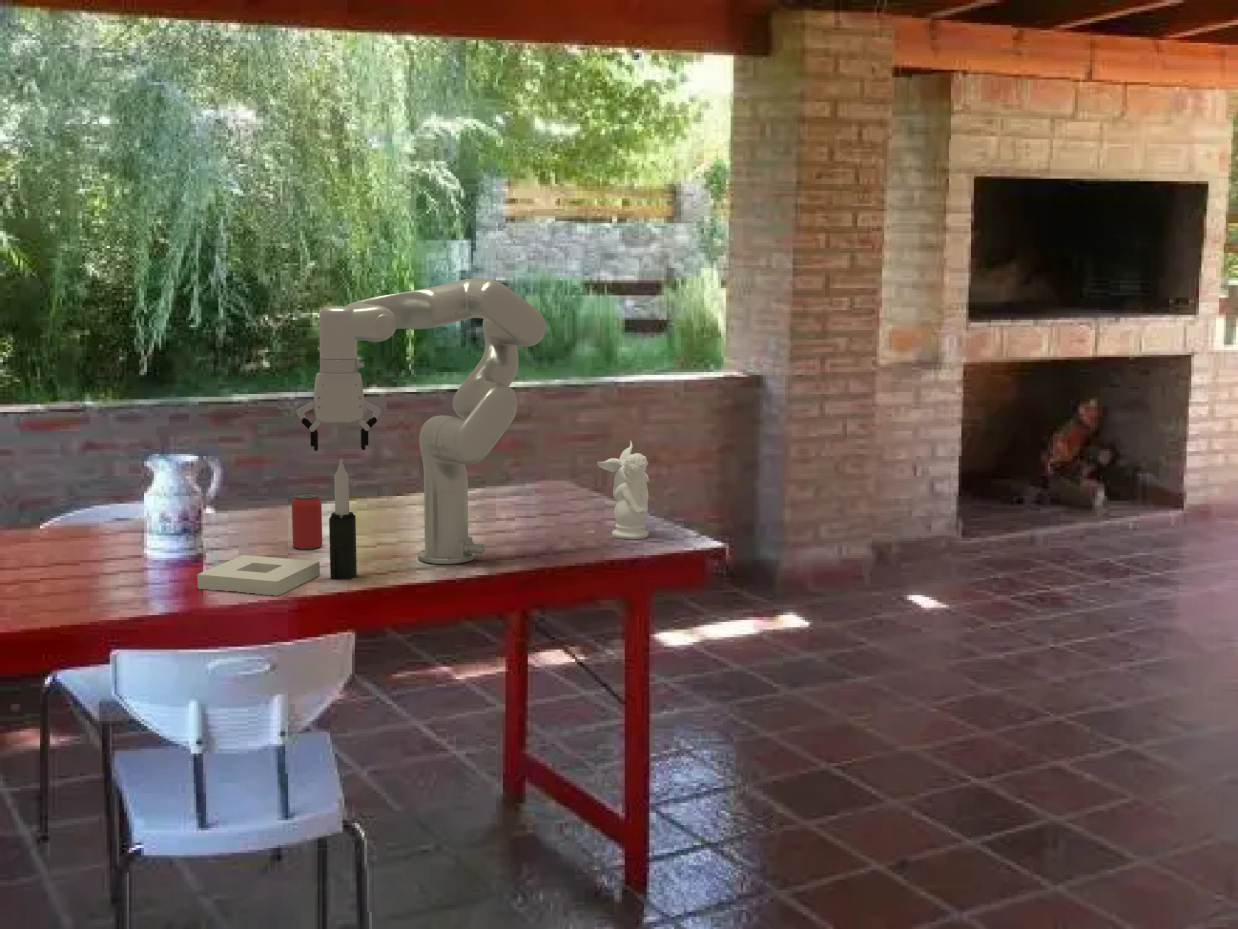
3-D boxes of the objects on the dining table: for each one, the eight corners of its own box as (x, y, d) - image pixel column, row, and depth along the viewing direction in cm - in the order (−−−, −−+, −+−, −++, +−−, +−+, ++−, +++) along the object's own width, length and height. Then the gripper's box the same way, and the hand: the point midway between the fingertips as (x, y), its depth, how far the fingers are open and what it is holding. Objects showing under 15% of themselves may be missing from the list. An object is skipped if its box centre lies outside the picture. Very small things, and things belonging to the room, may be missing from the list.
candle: (357, 573, 331) (355, 456, 326) (354, 579, 326) (351, 460, 321) (333, 573, 331) (330, 456, 326) (329, 579, 326) (326, 460, 321)
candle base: (319, 575, 329) (319, 561, 328) (277, 596, 312) (277, 581, 311) (243, 568, 334) (243, 555, 333) (197, 588, 317) (197, 574, 316)
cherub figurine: (649, 541, 364) (650, 448, 360) (595, 541, 364) (596, 448, 360) (647, 529, 376) (649, 439, 372) (596, 529, 376) (597, 439, 372)
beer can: (315, 551, 351) (314, 498, 349) (288, 549, 352) (286, 497, 350) (326, 544, 357) (325, 493, 355) (299, 543, 358) (298, 491, 356)
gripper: (379, 364, 326) (380, 446, 329) (295, 365, 322) (296, 447, 325) (382, 368, 319) (383, 451, 322) (296, 369, 315) (297, 453, 318)
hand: (339, 449), depth 323 cm, fingers open, 9 cm apart
